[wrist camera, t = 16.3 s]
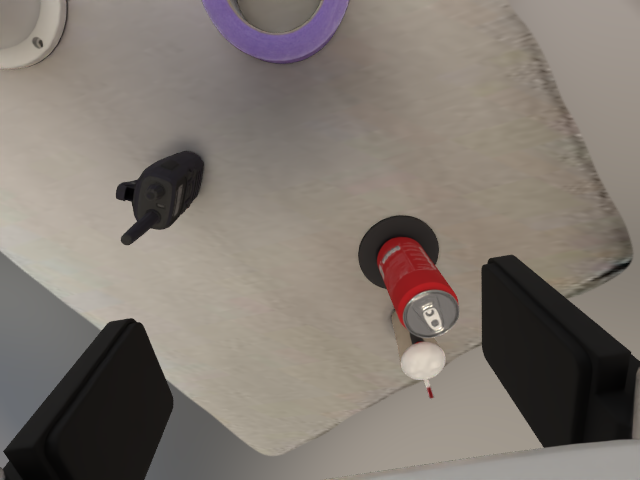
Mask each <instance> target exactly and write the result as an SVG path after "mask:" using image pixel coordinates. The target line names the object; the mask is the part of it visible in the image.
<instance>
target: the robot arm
mask: <svg viewBox="0 0 640 480" xmlns="http://www.w3.org/2000/svg"><path fill="white" fill-rule="evenodd" d="M65 21H66V0H0V69H19V68H24V67H29V66H31V65H33V64H36V63H38V62H40V61H41V60H43V59H44V58H45V57H46V56H48V55H49V54H50V53H51V52H52V50H53V49H54V48H55V47H56V45H57V44H58V42H59V40H60V37H61V35H62V33H63V30H64V25H65ZM42 42H43V45H42ZM482 349H483V353H484V356H485V358H486V360H487V362H488V363H489V365H490V366H491V368H492V369H493V371H494V372H495V374H496V375H497V377H498V379H499V380H500V382H501V383H502V385H503V386H504V388H505V389H506V390H507V392H508V394H509V395H510V397H511V398H512V400H513V401H514V403H515V404H516V406H517V407H518V409H519V410H520V412H521V414H522V415H523V416H524V418H525V420H526V421H527V422H528V424H529V426H530V427H531V429H532V430H533V432H534V433H535V435H536V436H537V438H538V439H539V441H540V442H541V444H542V445H543V447H544V448H540V449H533V450H524V451H517V452H509V453H501V454H493V455H487V456H480V457H473V458H466V459H459V460H452V461H446V462H439V463H432V464H425V465H418V466H411V467H404V468H398V469H391V470H384V471H377V472H370V473H364V474H357V475H351V476H344V477H337V478H331V479H325V480H640V361H639V360H637V359H636V358H635V357H634V356H633V355H631V352H630V351H629V350H628V349H627V348H626V347H624V346H623V345H622V344H621V343H619V342H618V341H617V340H616V339H615V338H613V337H612V336H611V335H610V334H609V333H607V332H606V331H605V330H603V328H601V327H600V326H599V325H598V324H597V323H595V322H594V321H593V320H592V319H590V318H589V317H588V316H587V315H586V314H584V313H583V312H582V311H581V310H579V309H578V308H577V307H576V306H575V305H573V304H572V303H571V302H570V301H569V300H567V299H566V298H565V297H564V296H563V295H561V294H560V293H559V292H558V291H556V290H555V289H554V288H553V287H552V286H550V285H549V284H548V283H547V282H546V281H544V280H543V279H542V278H541V277H539V276H538V275H537V274H536V273H535V272H533V271H532V270H531V269H530V268H529V267H527V266H526V265H525V264H524V263H523V262H521V261H520V260H519V259H518V258H516V257H515V256H514V255H507V256H501V257H495V258H490V259H489V260H488V264H486V265H483V266H482ZM172 409H173V396H172V394H171V391H170V389H169V386H168V384H167V381H166V379H165V377H164V374H163V372H162V369H161V367H160V365H159V362H158V360H157V357H156V355H155V352H154V350H153V348H152V345H151V343H150V340H149V338H148V336H147V333H146V331H145V328H144V326H143V325H142V324H141V323H140V322H136V321H135V320H134V319H132V318H130V319H124V320H118V321H112V322H109V323H108V324H107V325H106V326H105V327H104V329H103V330H102V331H101V332H100V333H99V335H98V336H97V337H96V338H95V340H94V341H93V342H92V343H91V345H90V346H89V347H88V348H87V349H86V351H85V352H84V353H83V354H82V356H81V357H80V358H79V359H78V360H77V362H76V363H75V364H74V365H73V367H72V368H71V369H70V370H69V372H68V373H67V374H66V375H65V376H64V378H63V379H62V380H61V381H60V383H59V384H58V385H57V386H56V387H55V389H54V390H53V391H52V392H51V394H50V395H49V396H48V397H47V398H46V400H45V401H44V402H43V403H42V405H41V406H40V407H39V408H38V410H37V411H36V412H35V413H34V414H33V416H32V417H31V418H30V420H29V421H28V422H27V423H26V424H25V425H24V427H23V428H22V429H21V430H20V432H19V433H18V434H17V435H16V436H15V438H14V439H13V440H12V441H11V443H10V444H9V445H8V446H7V448H6V449H5V450H4V451H3V452H4V453H5V455H6V456H7V458H8V459H9V462H8V463H7V465H6V466H5V467H4V468H3V469H2V468H1V467H0V480H144V479H145V476H146V474H147V472H148V469H149V466H150V464H151V462H152V459H153V457H154V454H155V452H156V449H157V447H158V444H159V442H160V439H161V437H162V434H163V432H164V429H165V427H166V424H167V422H168V419H169V417H170V414H171V412H172Z"/></svg>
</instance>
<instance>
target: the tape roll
mask: <svg viewBox="0 0 640 480" xmlns="http://www.w3.org/2000/svg"><path fill="white" fill-rule="evenodd" d="M202 2H203V5H204V7H205V10H206V12H207V13H208V15H209V17H210V19H211V20H212V22H213V24H214V25H215V26H216V28H217V29H218V31H219V32H220V33H221V34H222V35H223V36H224V37H225V38H226V39H227V40H228V41H229V42H230V43H231V44H232V45H234V46H235V47H236V48H238V49H239V50H241V51H243V52H244V53H247V54H249V55H251V56H253V57H256V58H258V59H260V60H263V61H267V62H271V63H279V64H286V63H293V62H298V61H301V60H304V59H306V58H308V57H310V56H312V55H314V54H315V53H317V52H318V51H319V50H321V49H322V48H323V47H324V46H325V45H326V44H327V43H328V42H329V41H330V39H331V38H332V36H333V35H334V33H335V32H336V30H337V28H338V26H339V24H340V23H341V21H342V19H343V16H344V14H345V12H346V9H347V6H348V3H349V0H321V2H320V4H319V6H318V8H317V10H316V11H315V13H314V14H313V15H312V17H311V18H310V19H309V20H308V21H307V22H305V23H304V24H303V25H301V26H300V27H298V28H296V29H294V30H291V31H288V32H282V33H271V32H266V31H262V30H260V29H257V28H256V27H254V26H252V25H250V24H249V23H248V22H247V20H246V19H245V18H244V16H243V15H242V13H241V11H240V9H239V6H238V4H237V0H202Z"/></svg>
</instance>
